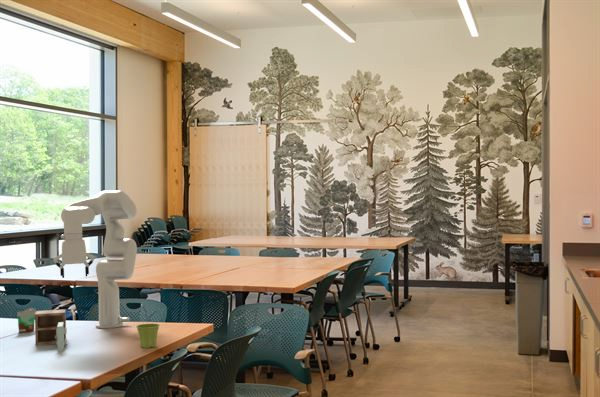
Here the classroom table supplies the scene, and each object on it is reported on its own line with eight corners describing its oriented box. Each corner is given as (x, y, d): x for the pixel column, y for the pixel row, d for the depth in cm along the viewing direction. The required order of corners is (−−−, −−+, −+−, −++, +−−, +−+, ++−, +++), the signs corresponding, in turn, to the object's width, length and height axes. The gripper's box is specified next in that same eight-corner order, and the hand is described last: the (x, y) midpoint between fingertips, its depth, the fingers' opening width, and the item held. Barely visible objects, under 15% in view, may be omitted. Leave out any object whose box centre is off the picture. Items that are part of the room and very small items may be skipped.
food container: (30, 333, 351) (30, 311, 351) (17, 333, 351) (17, 311, 351) (40, 328, 364) (40, 307, 364) (27, 329, 364) (27, 307, 364)
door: (65, 351, 311) (65, 326, 311) (55, 351, 310) (54, 326, 310) (66, 344, 325) (66, 320, 325) (56, 344, 324) (56, 320, 324)
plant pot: (154, 349, 311) (154, 327, 311) (132, 348, 313) (132, 327, 313) (163, 344, 320) (163, 323, 320) (142, 344, 322) (141, 323, 322)
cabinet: (66, 339, 335) (65, 309, 335) (65, 345, 322) (64, 314, 322) (36, 341, 332) (36, 311, 332) (34, 347, 319) (34, 315, 319)
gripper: (51, 239, 327) (53, 279, 328) (94, 237, 331) (95, 276, 332) (52, 237, 334) (54, 276, 335) (94, 235, 339) (95, 274, 340)
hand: (74, 276), depth 334 cm, fingers open, 9 cm apart
